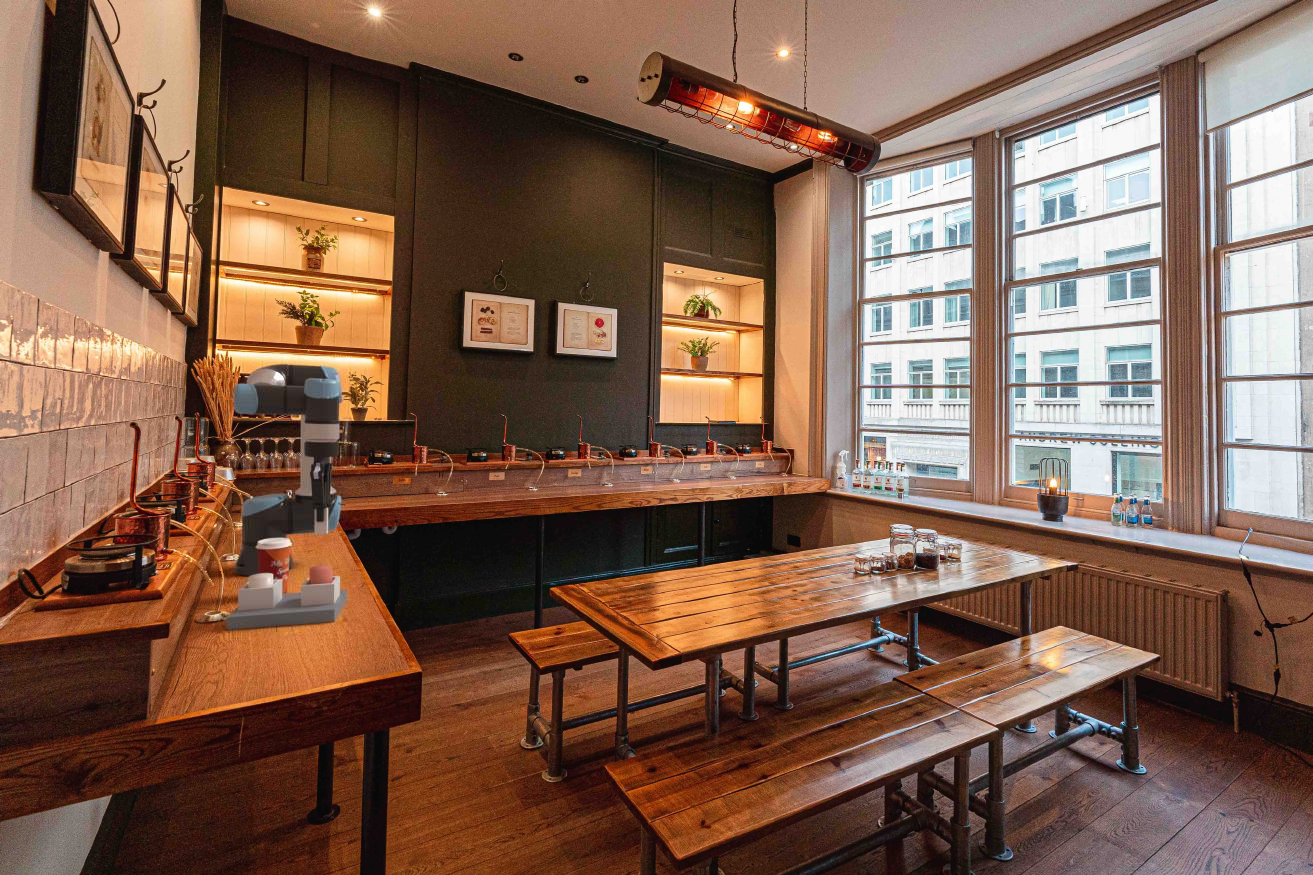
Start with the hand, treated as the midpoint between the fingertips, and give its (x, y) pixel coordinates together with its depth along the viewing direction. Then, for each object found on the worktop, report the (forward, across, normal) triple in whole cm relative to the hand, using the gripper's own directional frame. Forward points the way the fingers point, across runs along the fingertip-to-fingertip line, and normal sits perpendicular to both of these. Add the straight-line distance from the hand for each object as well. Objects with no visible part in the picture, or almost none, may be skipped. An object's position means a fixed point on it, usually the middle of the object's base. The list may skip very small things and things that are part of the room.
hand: (321, 533), depth 145 cm
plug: (+17, +1, -13) cm, 21 cm away
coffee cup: (+21, -17, -15) cm, 31 cm away
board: (+20, +1, -6) cm, 21 cm away
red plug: (+16, +1, 0) cm, 16 cm away
